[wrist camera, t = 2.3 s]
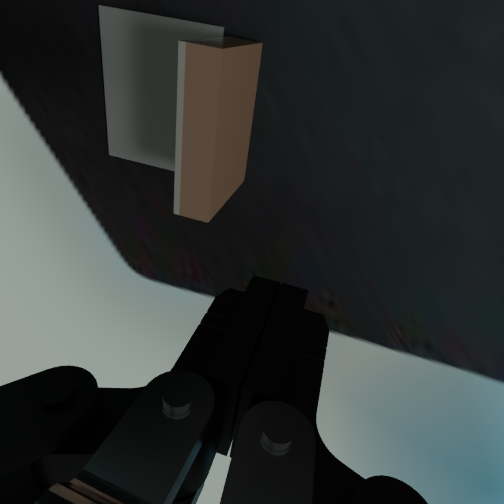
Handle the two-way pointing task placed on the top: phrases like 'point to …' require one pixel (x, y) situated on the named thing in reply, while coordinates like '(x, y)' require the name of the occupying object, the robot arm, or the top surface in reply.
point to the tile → (213, 121)
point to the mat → (144, 81)
